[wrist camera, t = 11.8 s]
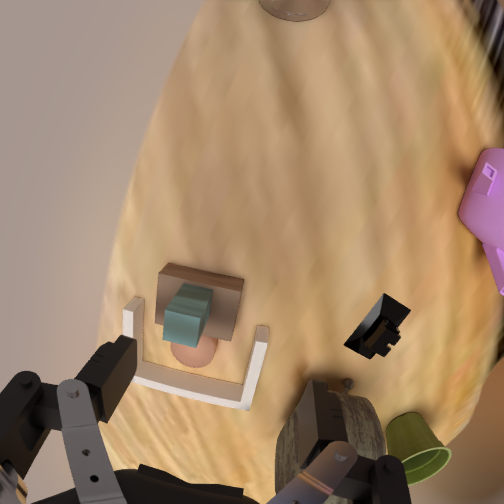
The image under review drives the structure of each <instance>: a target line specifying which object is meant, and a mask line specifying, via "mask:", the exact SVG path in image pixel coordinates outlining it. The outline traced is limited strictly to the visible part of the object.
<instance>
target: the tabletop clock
mask: <svg viewBox="0 0 504 504" xmlns="http://www.w3.org/2000/svg"><path fill="white" fill-rule="evenodd" d="M353 385H354V382H353V380H351V379H347V380H345V381H344V384H343V386H344V387H345V388H344V390H343V392H342V393H339V392H335V391H330V390H328V392H330V393H335V394H336V395H337V397H338V398H339V400H340V401H341V405H342V411H343V416H344V417H343V418H344V421H345V426H346V431H347V437H348V442H349V444H351V445H352V446H353V447H354V448H355V449H356V451H357V454H358V455H360V456H363V457H366V458H370V459H373V460H377V459H378V458H379V457H381V456H383V455H386V447H385V440H384V436H383V432H382V428H381V424H380V421H379V419H378V416H377V414H376V412H375V409H374V407H373V405H372V404H371V402H370V401H369V400H368V399H366V398H363V397H358V396H353V395H349V394H347V391H348V389H351V388H352V387H353ZM298 406H299V403H298V405H297V406H296V408H295V409H294V411H293V412H292V414H291V415H290V417H289V419H288V420H287V422H286V424H285V425H284V427H283V428H282V430H281V432H280V434H279V436H278V439H277V444H276V456H275V492H276V495H277V494H278V493H279V492H280V491H281V490H282V489H283V488H284V487H285V486H286V485H287V484H288V483H289V482H291V481H292V480H293V479H294V478H295V477H296V476H297V475H298V474H299V473H300V472H303V471H304V470H305V469H299V437H298ZM323 504H347V499H345V498H342V497H338V496H335V495H332V494H331V495H330V496H329V497H328V499H327V500H326V501H325V502H324V503H323Z"/></svg>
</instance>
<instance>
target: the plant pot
mask: <svg viewBox="0 0 504 504" xmlns="http://www.w3.org/2000/svg"><path fill="white" fill-rule="evenodd" d="M386 437H387V449H388V455H392V456H395V457H397V458H398V459H399V460H400V461H401V462H402V463H403V465H404V469H405V474H406V478H407V483H408V486H410V485H413V484H416V483H419V482H421V481H424V480H426V479H427V478H430V477H431V476H433V475H434V474H436V473H437V472H439V471H440V470H441V469H442V468H443V467H444V466H445V465H446V464H447V463H448V461H449V460H450V458H451V454H452V453H451V450H450V449H449V448H447V447H444V445H443V444H442V442H440V441H439V440H438V439H437V437H436V436H435V435H434V433H433V432H432V430H431V429H430V428H429V426H428V425H427V424H426V422H425V421H424V419H423V418H422V417H421V415H419V414H418V413H407V414H405V415H403V416H400V417H397V418H396V419H394V420H393V421H392V422H391V423H390V424H389V425H388V427H387V429H386Z"/></svg>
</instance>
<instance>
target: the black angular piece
mask: <svg viewBox="0 0 504 504" xmlns="http://www.w3.org/2000/svg"><path fill="white" fill-rule="evenodd" d="M410 311H411V310H410V309H408V308H407V307H405V306H404V305H402V304H401V303H399V302H398V301H396V300H395V299H393V298H391V297H390V296H388V295H387V294H385V293H384V294H383V295H382V296H381V298H380V299H379V300H378V302H377V303H376V304H375V306H374V307H373V308H372V309H371V311H370V312H369V313H368V315H367V316H366V317H365V318H364V320H363V321H362V322H361V324H360V325H359V326H358V327H357V329H356V330H355V331H354V332H353V334H352V335H351V336H350V337H349V338H348V340H347V341H346V342H345V343H344V346H346V347H348V348H349V349H351V350H353V351H355V352H357V353H359V354H360V355H362V356H364V357H366V358H368V359H371V358H372V357H373V356H374V355H375V354H376V353H377V354H379V355H381V356H383V357H385V356H386V355H387V354H388V352H389V351H390V350H391V348H390V347H389V346H387V345H388V344H389V343H390V344H391V345H393V346H394V345H395V344H396V343H397V342H398V341H399V339H400V338H401V336H400V335H399V333H400V331H399V329H398V327H399V325H400V324H401V323H402V322H403V320H404V319H405V318H406V316H407V315H408V314H409V313H410Z"/></svg>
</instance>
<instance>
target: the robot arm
mask: <svg viewBox="0 0 504 504" xmlns="http://www.w3.org/2000/svg"><path fill="white" fill-rule="evenodd" d="M259 2H260V4H261V5H262V7H263V8H264V9H265V10H266V11H267V12H269V13H271V14H272V15H274V16H276V17H278V18H281V19H285V20H290V21H305V20H310V19H313V18H315V17H318V16H319V15H321V14H322V13H323V12H324V11H325V10H326V9H327V7H328V5H329V3H330V0H259ZM136 369H137V340H136V339H134V338H131V337H128V336H124V335H120V336H119V337H118V339H117V340H116V341H115V343H112V342H107V343H105V344H103V345H101V346H100V347H99V348H98V349H97V351H96V352H95V354H93V356H92V357H91V358H90V360H89V361H88V362H87V363H86V365H85V366H84V367H83V368H82V370H81V371H80V372H79V373H78V375H77V376H76V377H75V378H74V379H68V380H65V381H63V382H61V383H60V384H59V385H53V384H47V383H42V382H41V380H40V378H39V376H38V375H37V374H36V373H34V372H31V371H22V372H20V373H17V374H16V375H15V376H14V377H13V378H12V380H11V381H10V382H9V383H8V385H7V386H6V387H5V388H4V390H3V391H2V392H1V393H0V504H26V497H27V492H28V491H27V487H26V484H25V482H24V481H23V480H24V478H25V476H26V474H27V472H28V470H29V468H30V466H31V464H32V463H33V461H34V459H35V457H36V455H37V454H38V452H39V450H40V448H41V447H42V445H43V443H44V441H45V440H46V438H47V436H48V434H49V433H50V431H51V429H54V430H59V431H62V434H63V440H64V445H65V449H66V453H67V458H68V461H69V466H70V469H71V473H72V477H73V481H74V484H75V488H73V489H70V490H67V491H65V492H62V493H59V494H57V495H54V496H51V497H48V498H46V499H43V500H40V501H37V502H34V503H32V504H259V503H258V502H257V501H255V500H253V499H251V498H249V497H247V496H245V495H243V490H244V488H237V487H231V486H226V485H220V484H191V483H187V482H185V481H183V480H181V479H179V478H177V477H175V476H173V475H171V474H169V473H167V472H165V471H162V470H159V469H156V468H153V467H149V466H146V465H143V464H140V465H139V468H138V469H122V470H117V471H113V468H112V466H111V463H110V460H109V457H108V454H107V451H106V448H105V445H104V442H103V439H102V436H101V433H100V430H99V426H98V422H99V421H102V422H105V423H108V421H109V419H110V418H111V416H112V414H113V412H114V410H115V409H116V407H117V405H118V403H119V402H120V400H121V398H122V396H123V395H124V393H125V391H126V389H127V388H128V386H129V384H130V382H131V381H132V379H133V377H134V375H135V373H136ZM343 417H344V416H343V411H342V405H341V401H340V400H339V398H338V397H337V395H336V394H335V393H330V392H328V386H327V382H326V381H322V380H314V379H310V380H309V381H308V384H307V386H306V388H305V391H304V393H303V395H302V398H301V400H300V402H299V406H298V437H299V469H305V470H304V471H303V472H300V473H299V474H298V475H297V476H296V477H295V478H294V479H293V480H292V481H291V482H289V483H288V484H287V485H286V486H285V487H284V488H283V489H282V490H281V491H280V492H279V493H278V494H277V495H275V496H274V497H273V498H272V499H271V500H270V501H269V502H268V503H266V504H323V503H324V502H325V501H326V500H327V499H328V497H329V496H330V495H331V494H332V495H335V496H338V497H342V498H345V499H347V504H412V503H411V498H410V493H409V488H408V483H407V478H406V474H405V469H404V465H403V463H402V462H401V461H400V460H399V459H398V458H397V457H395V456H392V455H383V456H381V457H379V458H378V459H377V460H373V459H370V458H366V457H363V456H360V455H358V454H357V451H356V449H355V448H354V447H353V446H352V445H351V444H349V442H348V437H347V431H346V426H345V421H344V418H343Z"/></svg>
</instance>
